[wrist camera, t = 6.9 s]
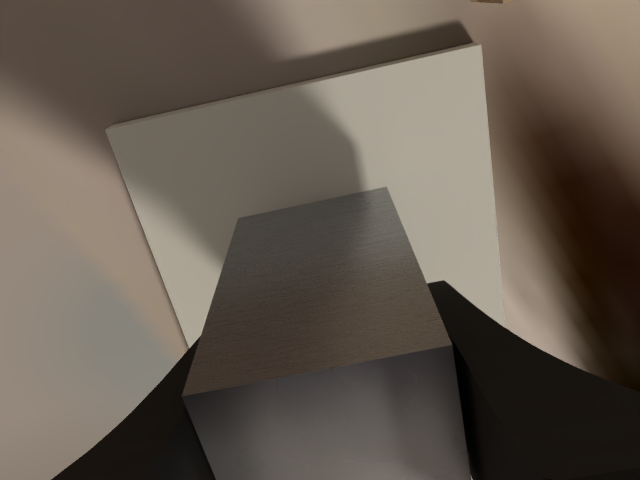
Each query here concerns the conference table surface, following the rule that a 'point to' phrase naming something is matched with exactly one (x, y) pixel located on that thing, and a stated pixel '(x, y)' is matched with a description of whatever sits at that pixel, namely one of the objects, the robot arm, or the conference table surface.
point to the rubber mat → (322, 170)
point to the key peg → (326, 353)
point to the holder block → (493, 1)
